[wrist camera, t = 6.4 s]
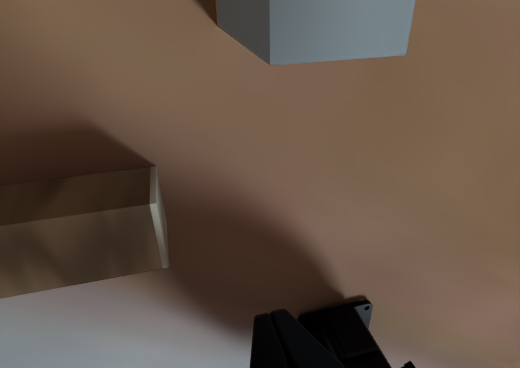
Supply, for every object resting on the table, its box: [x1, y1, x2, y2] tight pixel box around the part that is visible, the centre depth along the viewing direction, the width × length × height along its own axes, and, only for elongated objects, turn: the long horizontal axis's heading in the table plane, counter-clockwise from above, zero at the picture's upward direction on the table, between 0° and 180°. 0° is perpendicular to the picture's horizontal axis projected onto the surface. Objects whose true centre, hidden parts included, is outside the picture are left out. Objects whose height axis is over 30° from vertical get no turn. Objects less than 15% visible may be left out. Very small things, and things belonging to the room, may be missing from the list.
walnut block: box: [0, 166, 169, 298], centre depth 18 cm, size 4×4×10 cm
